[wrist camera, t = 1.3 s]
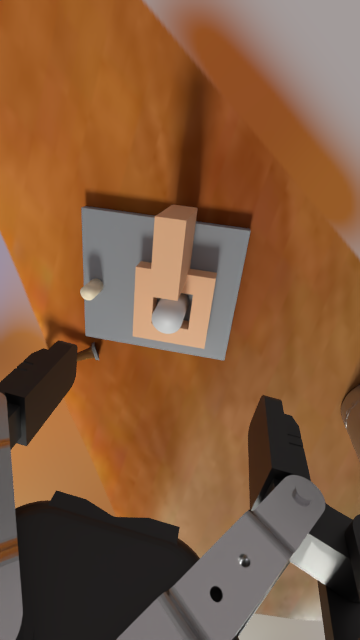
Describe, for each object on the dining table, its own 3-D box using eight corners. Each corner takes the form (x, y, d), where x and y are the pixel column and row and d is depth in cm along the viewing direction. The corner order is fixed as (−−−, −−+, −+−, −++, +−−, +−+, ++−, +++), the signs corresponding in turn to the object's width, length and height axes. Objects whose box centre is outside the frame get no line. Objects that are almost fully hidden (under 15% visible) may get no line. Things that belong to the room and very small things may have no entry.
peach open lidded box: (205, 339, 36) (198, 379, 30) (137, 328, 37) (115, 364, 31) (227, 211, 30) (224, 226, 24) (144, 200, 31) (118, 211, 24)
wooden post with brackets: (34, 352, 42) (27, 368, 38) (94, 334, 43) (94, 348, 39) (39, 363, 43) (33, 381, 39) (98, 345, 44) (99, 360, 40)
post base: (250, 228, 32) (252, 242, 27) (224, 355, 39) (222, 385, 33) (86, 206, 34) (57, 214, 28) (89, 331, 40) (67, 357, 35)
